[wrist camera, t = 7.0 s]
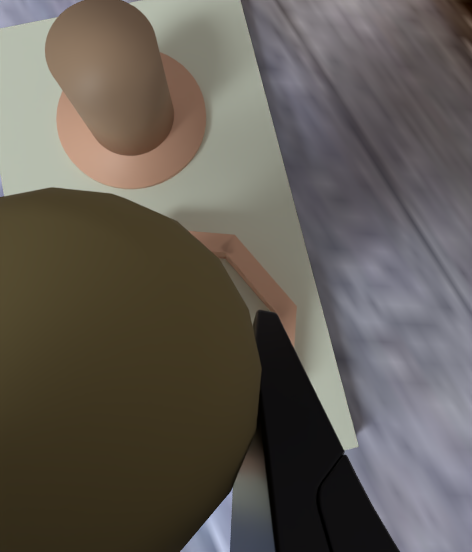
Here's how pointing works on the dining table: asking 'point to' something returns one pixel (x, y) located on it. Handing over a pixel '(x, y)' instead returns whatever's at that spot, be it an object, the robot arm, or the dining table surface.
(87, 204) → the cork
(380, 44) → the dining table surface
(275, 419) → the robot arm
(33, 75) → the pin board
